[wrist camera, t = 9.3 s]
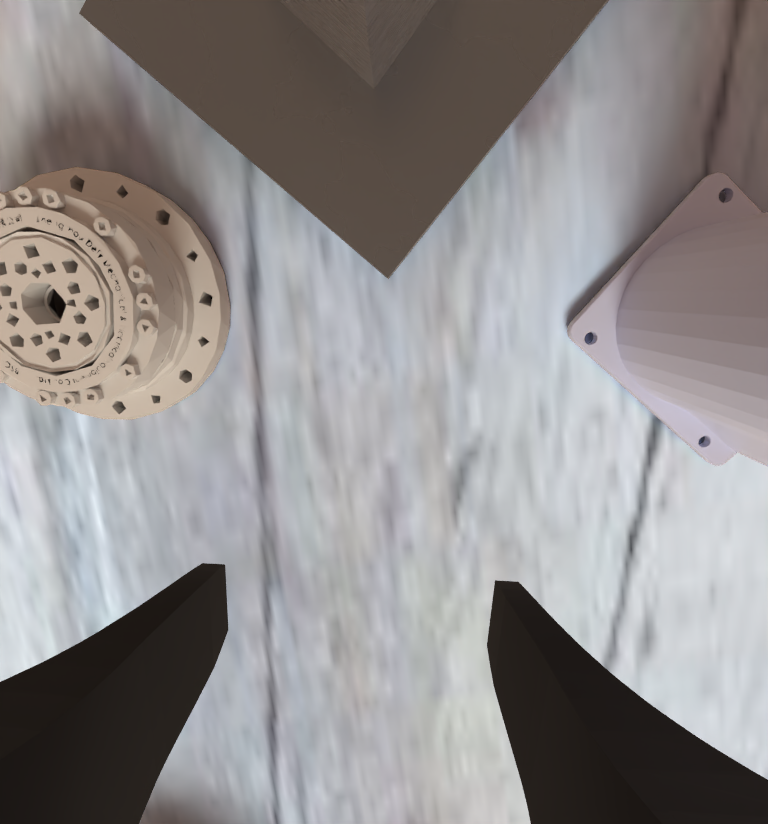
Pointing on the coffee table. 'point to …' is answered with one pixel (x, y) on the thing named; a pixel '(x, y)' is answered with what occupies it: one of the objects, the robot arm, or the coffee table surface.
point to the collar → (363, 29)
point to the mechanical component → (106, 295)
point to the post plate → (353, 99)
